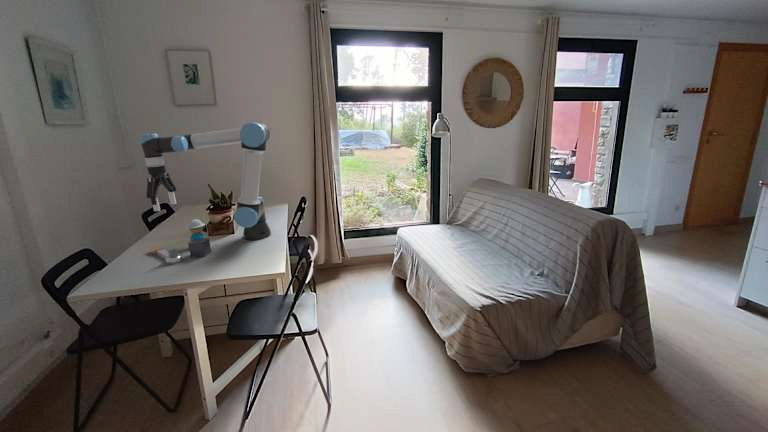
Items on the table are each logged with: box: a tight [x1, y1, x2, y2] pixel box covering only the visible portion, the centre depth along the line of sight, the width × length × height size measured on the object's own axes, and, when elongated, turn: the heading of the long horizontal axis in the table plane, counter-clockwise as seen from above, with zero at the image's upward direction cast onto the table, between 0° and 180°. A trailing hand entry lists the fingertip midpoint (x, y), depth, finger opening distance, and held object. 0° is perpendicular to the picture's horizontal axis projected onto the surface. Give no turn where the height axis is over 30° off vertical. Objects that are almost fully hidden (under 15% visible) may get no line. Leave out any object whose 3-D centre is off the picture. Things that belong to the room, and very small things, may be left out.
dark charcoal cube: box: [187, 237, 212, 258], centre depth 173 cm, size 7×7×8 cm
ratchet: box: [149, 245, 184, 265], centre depth 172 cm, size 28×7×6 cm, turn 51°
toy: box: [186, 219, 208, 242], centre depth 185 cm, size 8×9×15 cm
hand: (165, 207), depth 175 cm, fingers open, 13 cm apart
